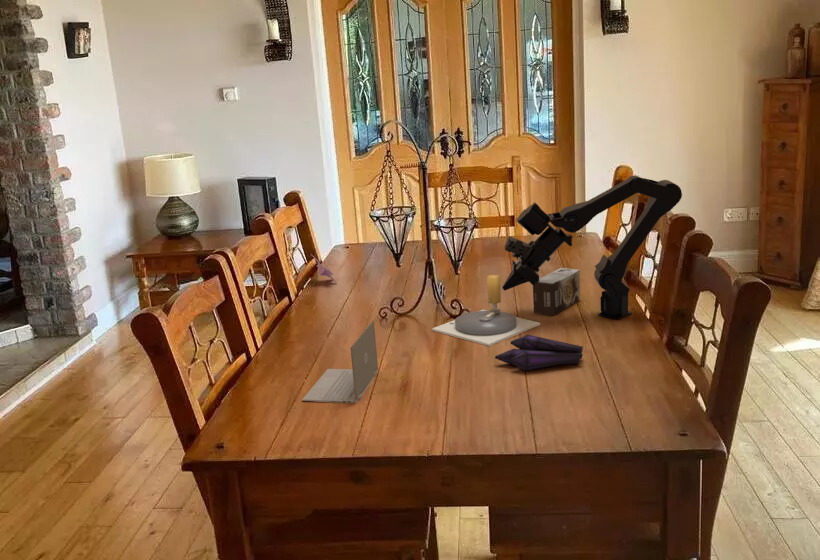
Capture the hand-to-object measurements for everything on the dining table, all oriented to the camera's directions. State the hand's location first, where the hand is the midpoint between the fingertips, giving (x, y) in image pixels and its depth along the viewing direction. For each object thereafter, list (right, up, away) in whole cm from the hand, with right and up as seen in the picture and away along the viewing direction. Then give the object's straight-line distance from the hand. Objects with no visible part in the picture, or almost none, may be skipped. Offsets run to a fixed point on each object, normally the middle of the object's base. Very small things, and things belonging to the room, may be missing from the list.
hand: (503, 289), depth 219 cm
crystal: (+5, -17, -30) cm, 35 cm away
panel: (-5, -10, -2) cm, 12 cm away
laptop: (-40, -22, -34) cm, 57 cm away
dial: (-5, -10, -2) cm, 12 cm away
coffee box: (+21, +1, +16) cm, 26 cm away
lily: (-53, +1, +51) cm, 73 cm away
